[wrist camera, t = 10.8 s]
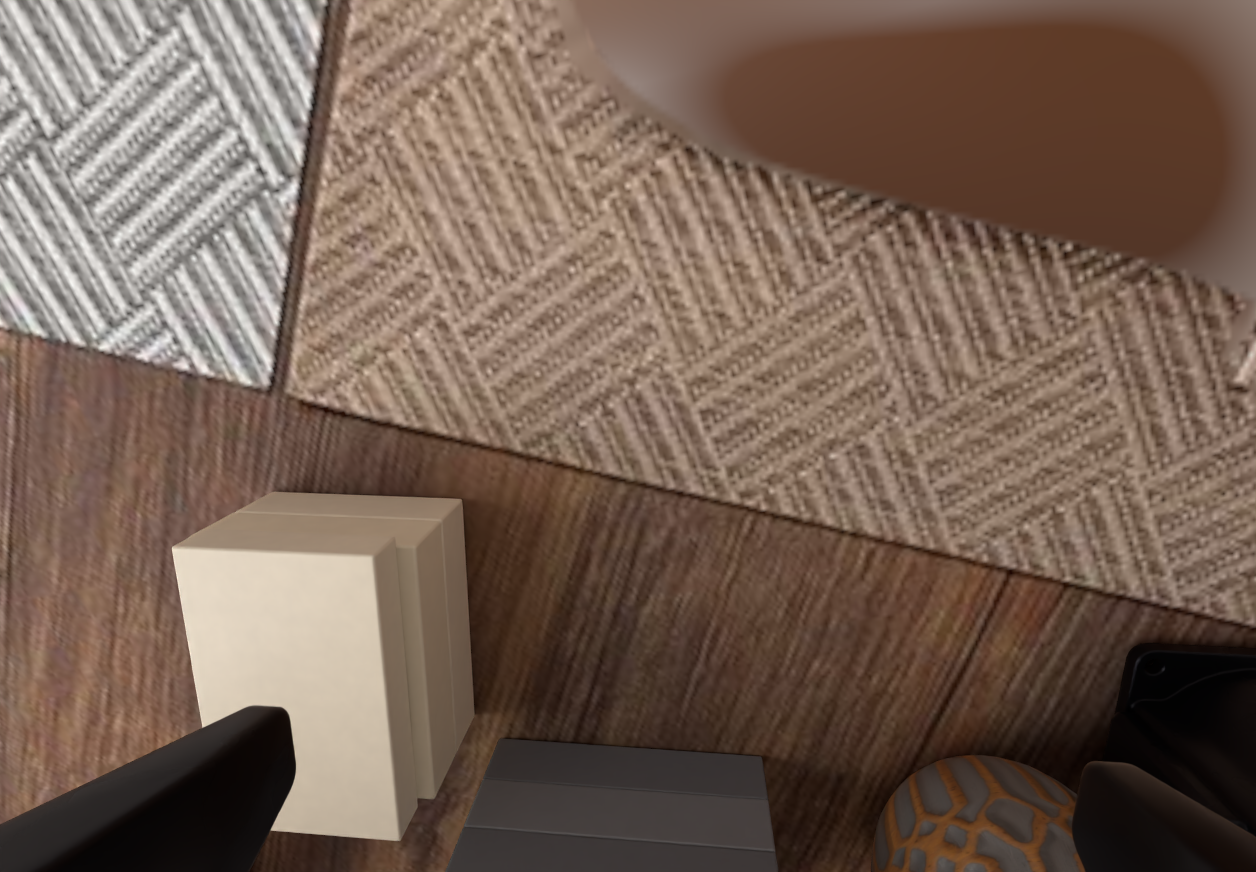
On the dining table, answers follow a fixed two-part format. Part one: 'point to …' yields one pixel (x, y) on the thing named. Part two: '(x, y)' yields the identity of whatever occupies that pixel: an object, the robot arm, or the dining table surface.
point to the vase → (977, 820)
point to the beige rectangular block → (403, 602)
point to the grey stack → (616, 811)
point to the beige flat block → (309, 665)
